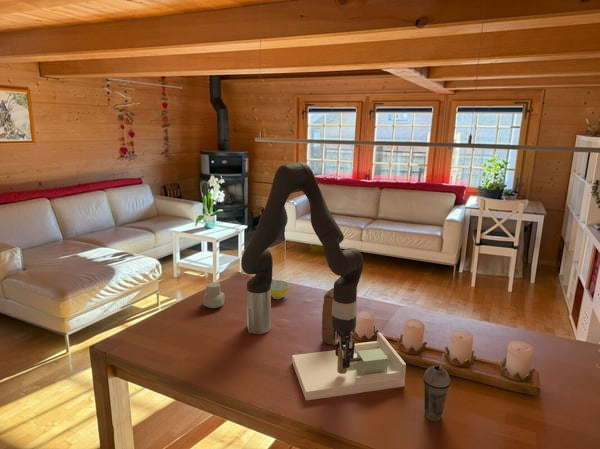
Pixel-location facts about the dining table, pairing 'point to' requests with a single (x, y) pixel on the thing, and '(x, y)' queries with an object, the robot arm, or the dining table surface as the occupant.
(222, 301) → the air freshener
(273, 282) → the bowl
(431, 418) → the beverage cup
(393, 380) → the shelf
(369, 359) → the pull block
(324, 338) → the brown tall faceted piece
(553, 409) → the dining table surface
